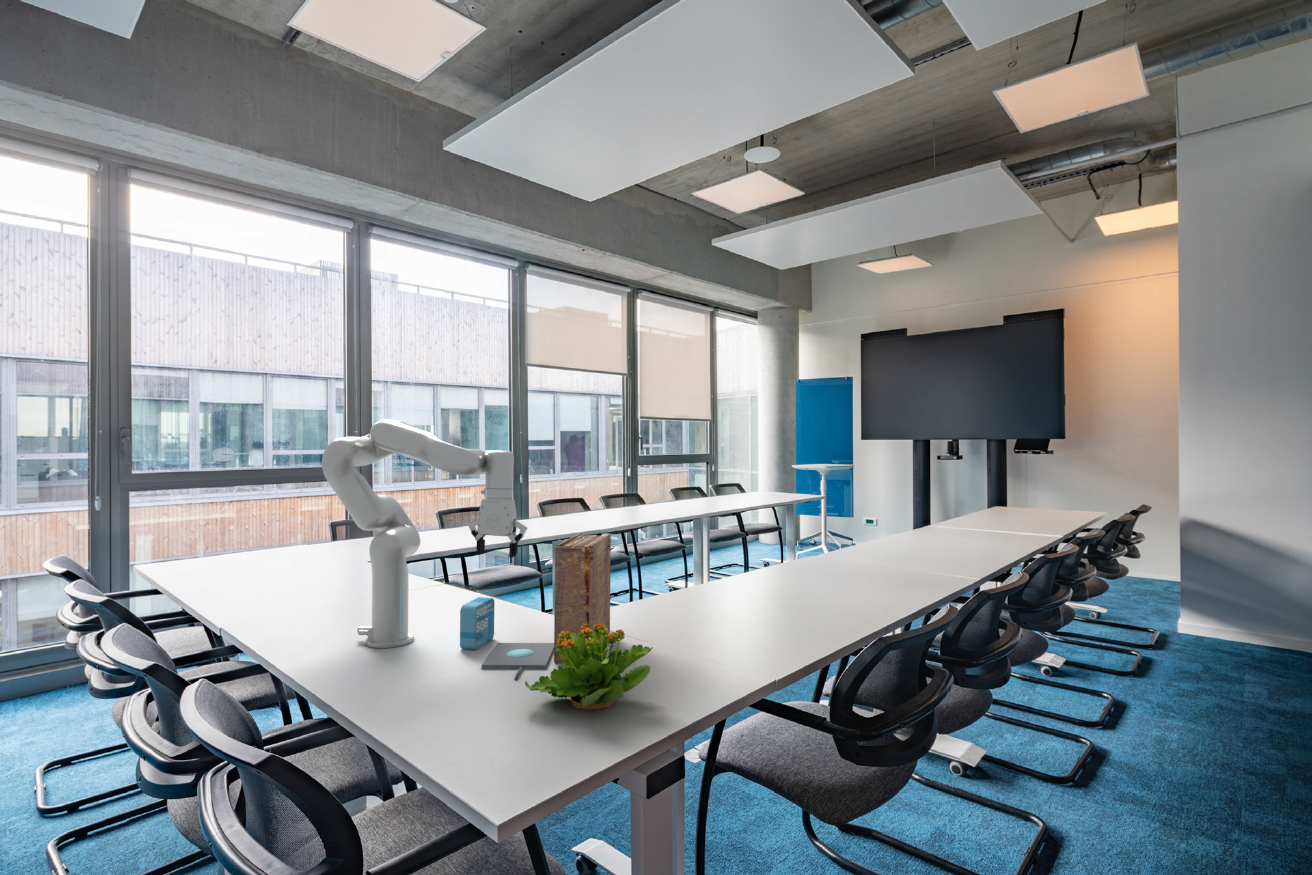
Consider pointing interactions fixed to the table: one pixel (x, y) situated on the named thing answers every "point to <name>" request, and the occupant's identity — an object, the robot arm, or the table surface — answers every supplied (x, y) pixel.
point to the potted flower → (593, 668)
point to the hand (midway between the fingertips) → (496, 555)
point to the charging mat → (519, 656)
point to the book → (581, 584)
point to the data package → (476, 623)
